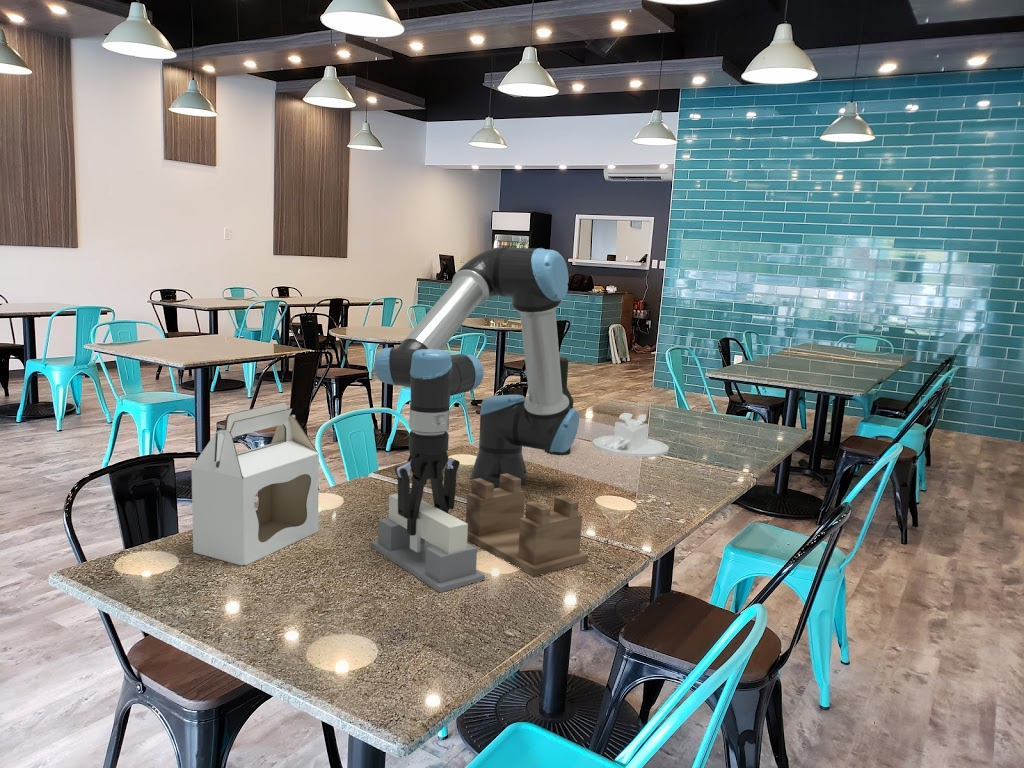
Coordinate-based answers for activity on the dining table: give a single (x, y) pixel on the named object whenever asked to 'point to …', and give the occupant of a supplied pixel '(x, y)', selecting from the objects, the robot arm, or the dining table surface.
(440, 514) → the white rectangular bar
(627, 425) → the dish
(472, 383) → the robot arm
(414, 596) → the dining table surface
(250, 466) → the gable box
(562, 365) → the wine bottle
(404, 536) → the stand
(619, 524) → the dining table surface
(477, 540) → the notched wooden cradle
